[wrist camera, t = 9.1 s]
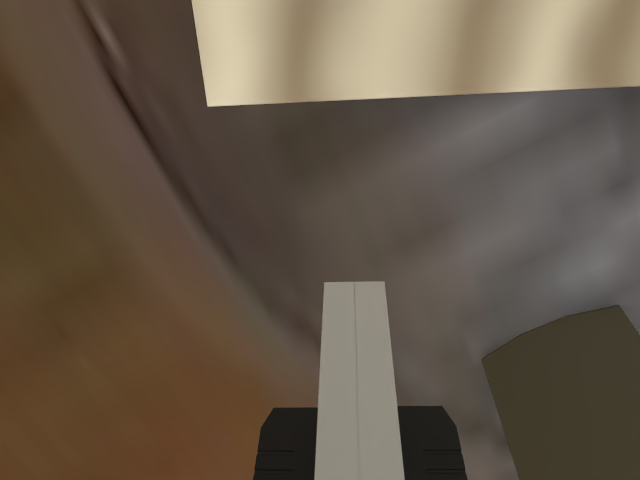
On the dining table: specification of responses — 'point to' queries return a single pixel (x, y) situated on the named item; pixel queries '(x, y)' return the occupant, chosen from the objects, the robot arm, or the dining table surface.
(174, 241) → the dining table surface
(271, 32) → the plank
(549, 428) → the olive curved-top slab
